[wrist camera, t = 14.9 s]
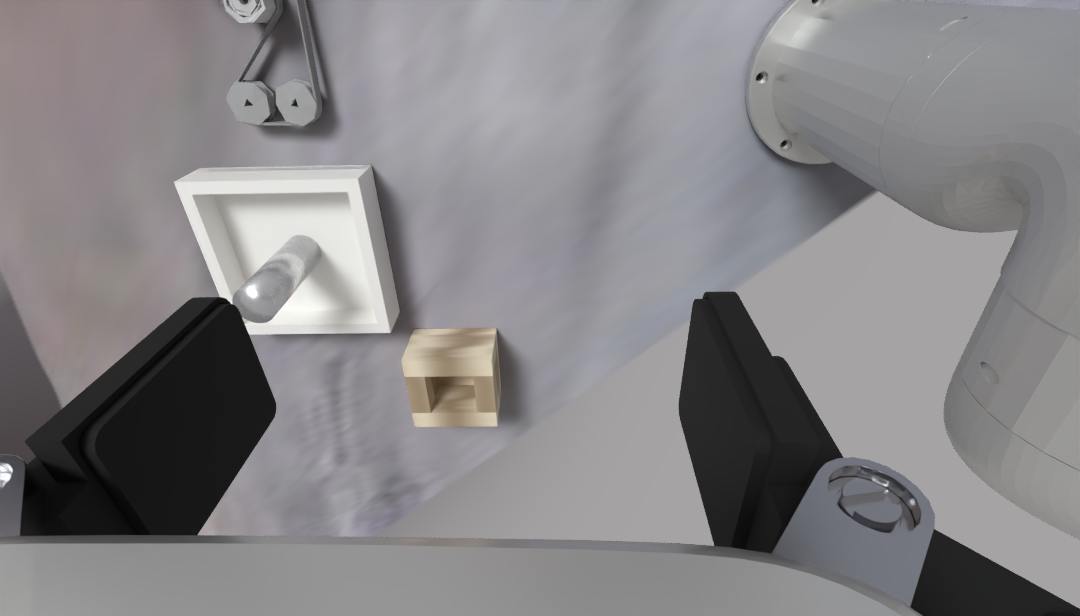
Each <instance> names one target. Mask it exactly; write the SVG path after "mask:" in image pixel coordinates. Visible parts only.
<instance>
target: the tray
mask: <svg viewBox="0 0 1080 616" xmlns="http://www.w3.org/2000/svg"><path fill="white" fill-rule="evenodd" d="M174 184H175V186H176V189H177V191H178V194H179V196H180V198H181V201H182V203H183V206H184V208H185V211H186V213H187V216H188V218H189V221H190V223H191V226H192V228H193V231H194V233H195V236H196V238H197V241H198V243H199V246H200V248H201V251H202V253H203V255H204V258H205V260H206V263H207V265H208V268H209V270H210V273H211V275H212V278H213V280H214V283H215V285H216V288H217V290H218V293H219V295H220V297H223V298H226V299H227V300H228V301H229V302H230V303H231V304H233V302H232V299H233V295H234V294H235V292H236V291H237V290H238V289H239V288H240V287H241V286H242V285H243V284H244V283H245V282H246V281H247V280H248V279H249V278H250V277H251V276H252V275H253V274H254V273H255V272H256V271H257V270H258V269H259V268H260V267H261V266H262V265H263V264H265V263H266V262H267V261H268V260H269V259H270V258H271V257H272V256H273V255H274V254H275V253H276V252H277V251H278V250H279V249H280V248H281V247H282V246H283V245H284V244H285V243H286V242H287V241H288V240H289V239H290V238H291V237H293V236H295V235H304V236H308V237H310V238H312V239H313V240H314V241H315V242H316V243H317V244H318V245H319V247H320V249H321V252H322V257H321V260H320V261H319V263H318V264H317V265H316V266H315V268H314V269H313V270H312V271H311V272H310V274H309V275H308V276H307V277H306V279H305V280H304V281H303V282H302V283H301V285H300V286H299V287H298V288H297V290H296V291H295V292H294V293H293V294H292V296H291V297H290V298H289V299H288V300H287V302H286V303H285V304H284V305H283V307H282V308H281V309H280V310H279V311H278V313H277V314H276V315H275V316H274V318H273V319H272V320H270V321H269V322H266V323H254V322H251V321H248V320H246V319H245V318H243V317H242V319H243V321H244V324H245V326H246V329H247V331H248V334H335V333H391V331H392V328H393V326H394V324H395V322H396V320H397V317H398V315H399V313H400V309H399V304H398V299H397V294H396V289H395V283H394V278H393V273H392V268H391V263H390V258H389V253H388V248H387V243H386V237H385V232H384V227H383V222H382V217H381V212H380V207H379V202H378V196H377V191H376V186H375V181H374V176H373V171H372V166H371V165H336V166H283V167H230V168H199V169H197V170H196V171H194V172H192V173H190V174H188V175H186V176H184V177H182V178H181V179H179V180H177V181H175V182H174Z"/></svg>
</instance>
